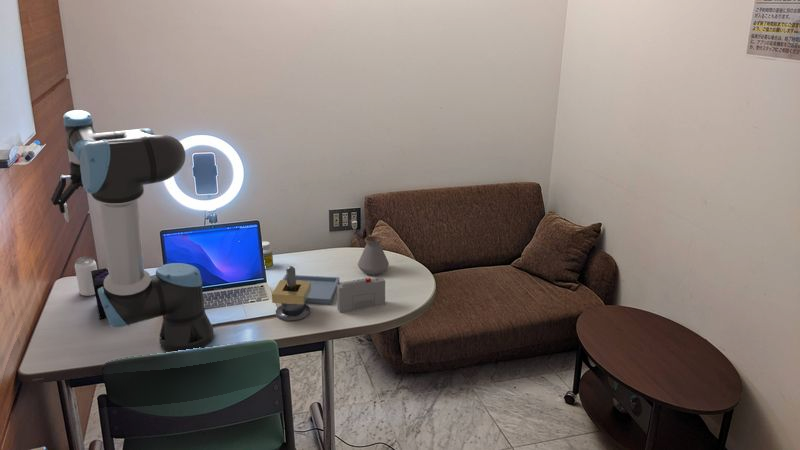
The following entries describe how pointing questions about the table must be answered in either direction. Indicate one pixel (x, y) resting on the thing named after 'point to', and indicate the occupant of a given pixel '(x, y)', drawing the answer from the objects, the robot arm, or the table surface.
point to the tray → (319, 288)
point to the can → (85, 275)
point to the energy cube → (98, 282)
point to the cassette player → (360, 294)
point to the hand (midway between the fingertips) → (89, 214)
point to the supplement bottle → (267, 255)
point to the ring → (291, 292)
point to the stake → (292, 310)
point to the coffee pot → (373, 255)
